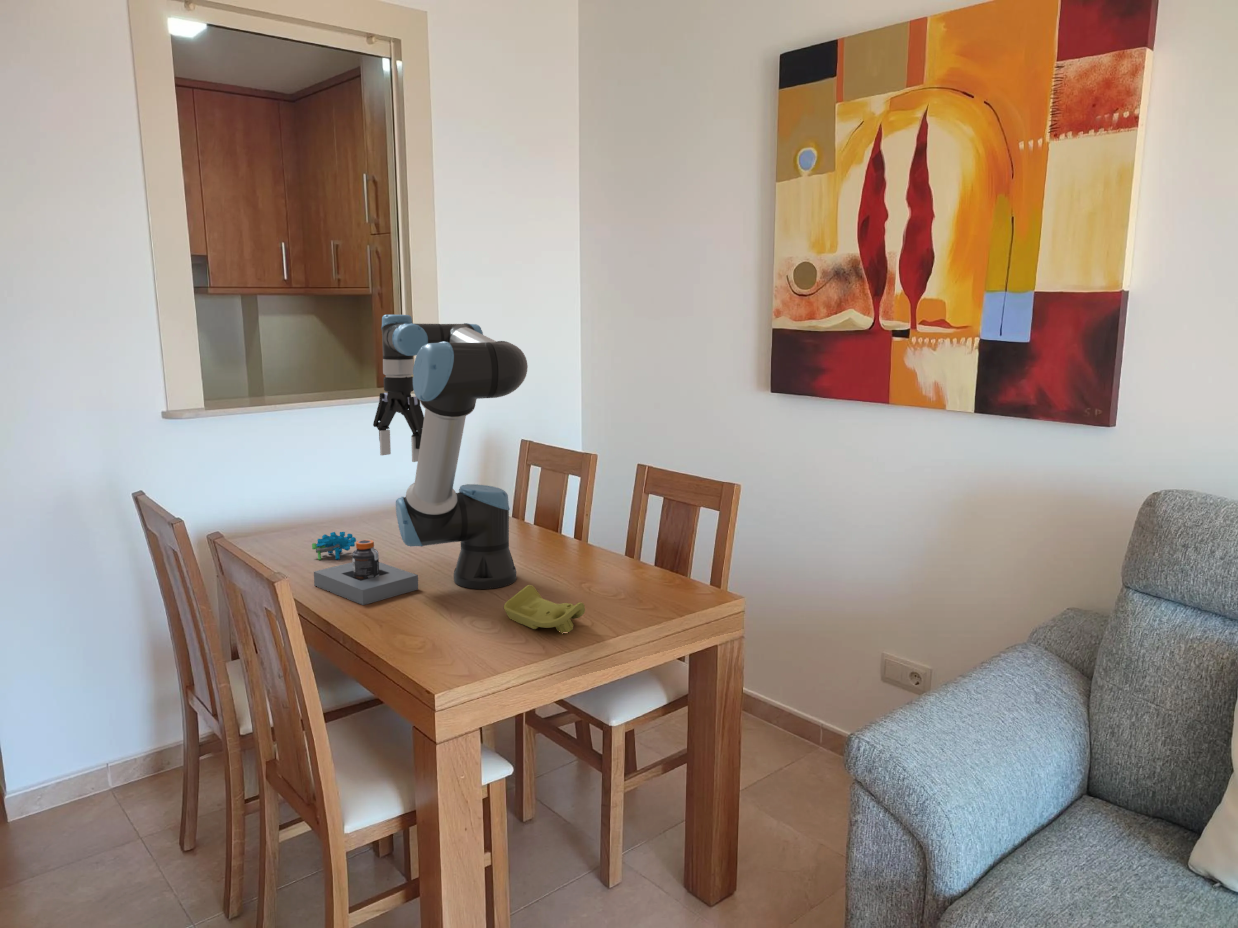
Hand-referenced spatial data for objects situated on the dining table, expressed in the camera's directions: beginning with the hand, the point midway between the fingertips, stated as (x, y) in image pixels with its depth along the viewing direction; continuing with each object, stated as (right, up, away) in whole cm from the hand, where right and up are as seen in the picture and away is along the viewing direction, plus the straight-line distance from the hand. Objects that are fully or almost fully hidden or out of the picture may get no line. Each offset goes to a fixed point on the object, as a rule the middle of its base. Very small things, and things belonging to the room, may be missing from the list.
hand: (401, 458), depth 225 cm
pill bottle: (-3, -31, -20) cm, 37 cm away
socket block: (-3, -31, -20) cm, 37 cm away
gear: (-19, -26, +5) cm, 33 cm away
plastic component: (+41, -36, -42) cm, 68 cm away
